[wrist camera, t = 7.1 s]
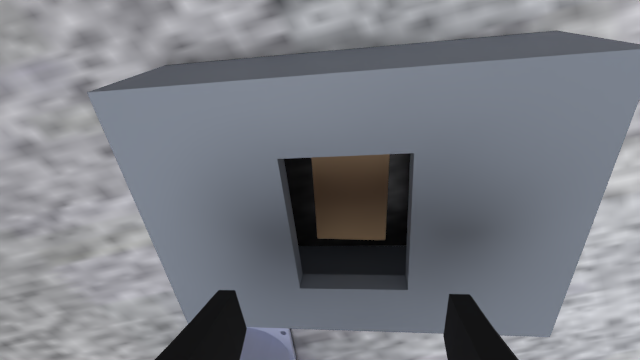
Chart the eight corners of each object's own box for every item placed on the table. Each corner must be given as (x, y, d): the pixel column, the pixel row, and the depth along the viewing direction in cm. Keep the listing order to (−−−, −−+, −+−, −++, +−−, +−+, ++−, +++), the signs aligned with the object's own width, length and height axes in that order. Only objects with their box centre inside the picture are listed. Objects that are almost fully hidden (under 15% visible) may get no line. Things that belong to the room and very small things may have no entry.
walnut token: (382, 211, 22) (385, 240, 19) (322, 210, 22) (317, 238, 19) (386, 124, 19) (390, 145, 16) (317, 125, 19) (310, 145, 17)
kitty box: (504, 256, 22) (549, 336, 17) (224, 256, 25) (188, 325, 20) (557, 30, 15) (659, 47, 10) (165, 65, 18) (86, 92, 13)
